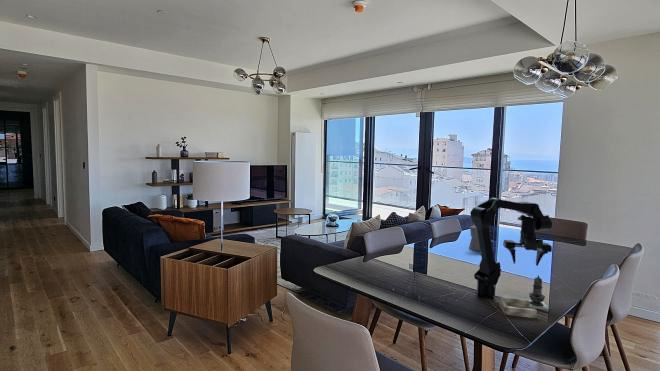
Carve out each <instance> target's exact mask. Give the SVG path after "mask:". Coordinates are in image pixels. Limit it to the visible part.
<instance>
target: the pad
mask: <svg viewBox="0 0 660 371" xmlns="http://www.w3.org/2000/svg"><path fill="white" fill-rule="evenodd" d="M528 300H529V301H532V300H531V299H528ZM541 303H542V304H543V305H544V306H534V305H531V304H530V309H532V308H535V309H538V310H539V309H540V310H549V309H550V308H549V306H548V305H546V303H545V302H544V301H542V302H541Z"/></svg>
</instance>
